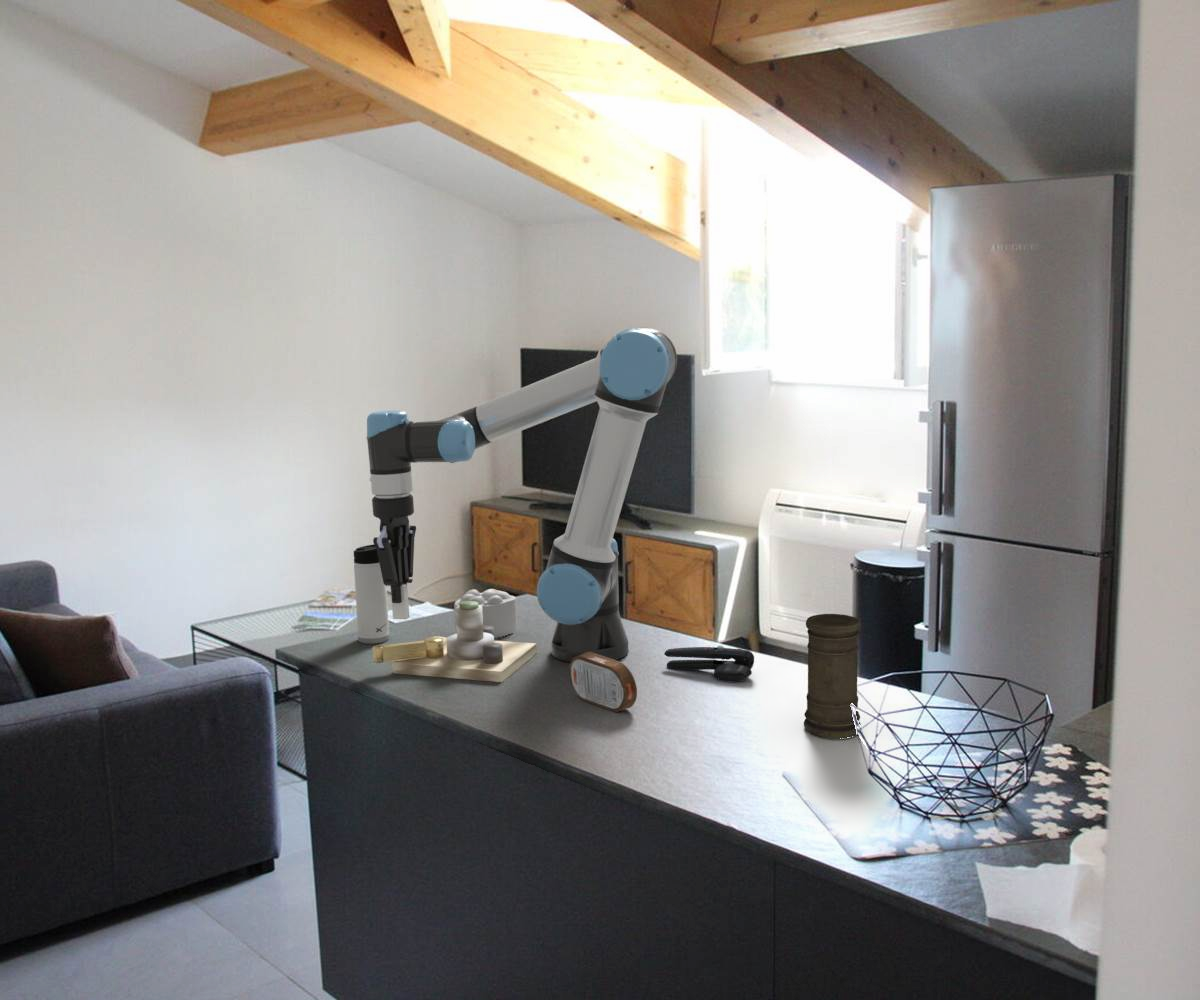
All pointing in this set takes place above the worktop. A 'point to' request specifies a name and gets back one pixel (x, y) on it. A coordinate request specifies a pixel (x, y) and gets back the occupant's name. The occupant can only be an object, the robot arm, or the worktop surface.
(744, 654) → the can opener
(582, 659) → the tin
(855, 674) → the container
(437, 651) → the brass ball lever
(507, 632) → the paw-shaped mold
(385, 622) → the travel mug
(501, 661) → the base
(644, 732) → the worktop surface
